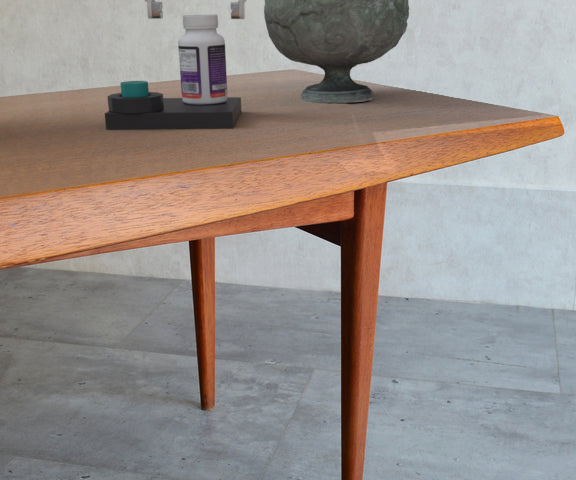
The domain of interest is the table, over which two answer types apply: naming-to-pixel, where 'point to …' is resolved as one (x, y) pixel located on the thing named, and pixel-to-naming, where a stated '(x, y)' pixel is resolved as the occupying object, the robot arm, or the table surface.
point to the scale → (169, 113)
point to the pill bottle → (202, 61)
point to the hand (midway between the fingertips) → (196, 18)
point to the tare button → (134, 89)
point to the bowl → (335, 39)
